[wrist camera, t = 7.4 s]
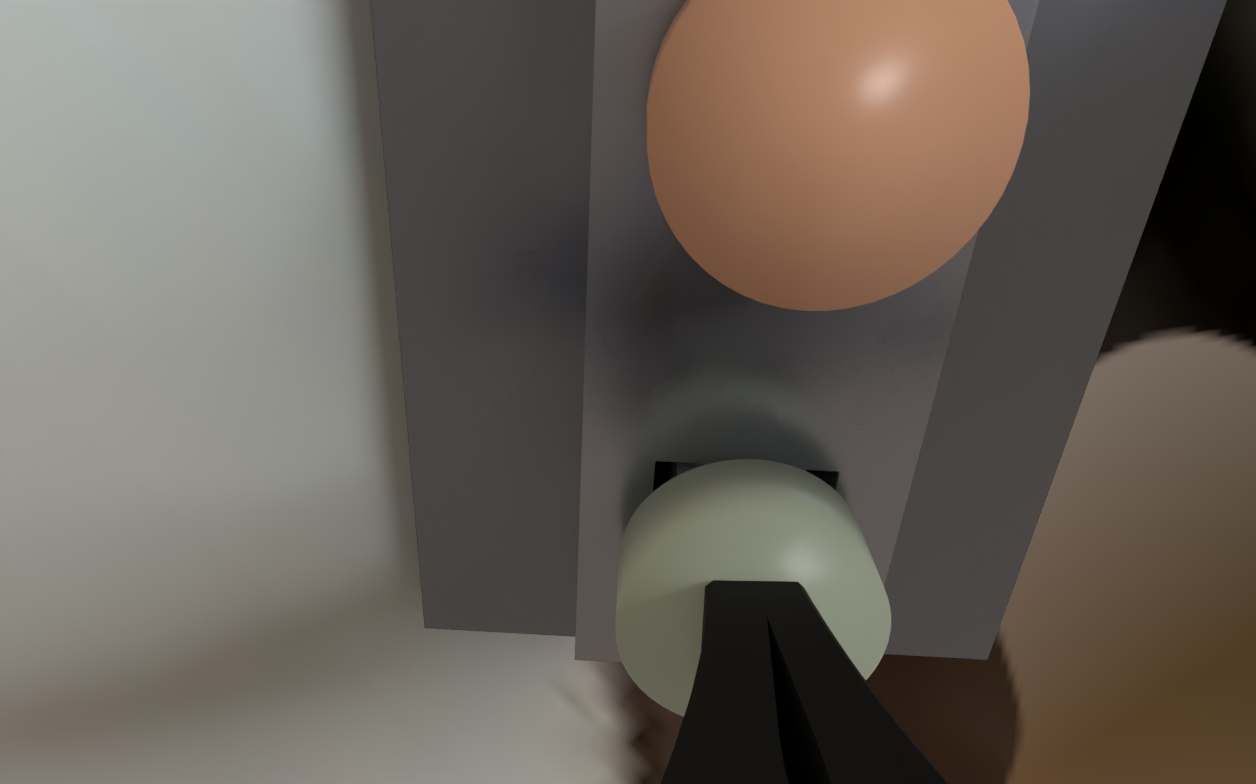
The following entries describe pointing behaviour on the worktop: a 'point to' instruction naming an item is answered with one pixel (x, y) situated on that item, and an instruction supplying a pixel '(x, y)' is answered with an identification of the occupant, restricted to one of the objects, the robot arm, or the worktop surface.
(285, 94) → the worktop surface
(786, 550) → the sage knob
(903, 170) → the terracotta knob
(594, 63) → the switch panel
